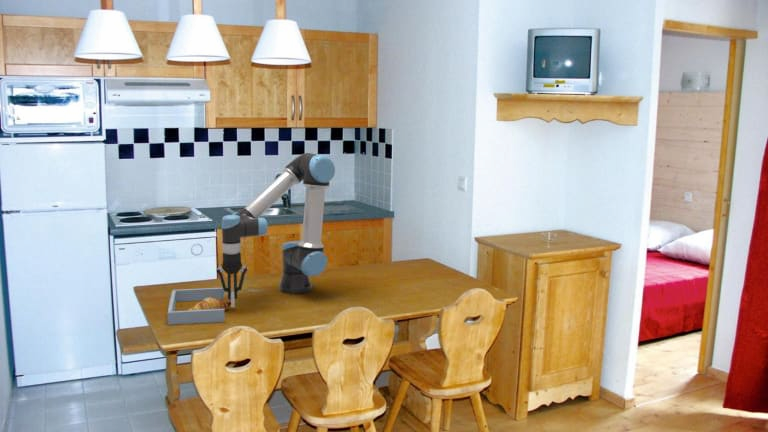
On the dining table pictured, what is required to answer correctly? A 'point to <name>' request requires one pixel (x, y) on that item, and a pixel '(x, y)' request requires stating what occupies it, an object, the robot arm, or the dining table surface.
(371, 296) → the dining table surface
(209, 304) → the croissant
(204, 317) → the crate
